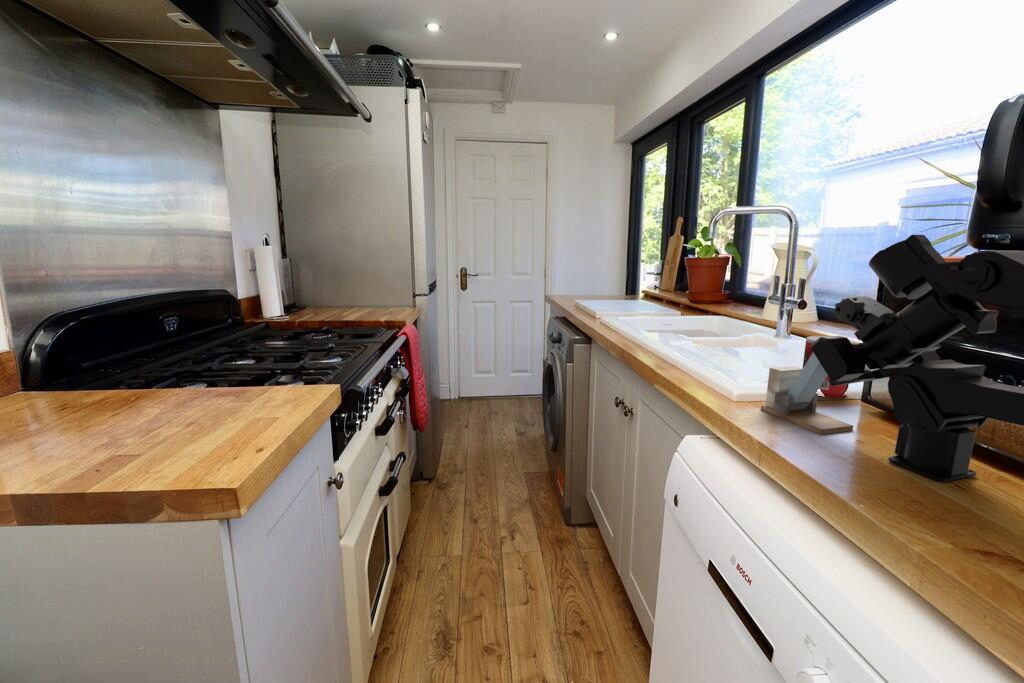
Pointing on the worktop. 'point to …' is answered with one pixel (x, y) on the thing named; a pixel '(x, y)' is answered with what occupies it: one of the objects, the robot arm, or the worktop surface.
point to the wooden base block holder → (781, 402)
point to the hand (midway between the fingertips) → (831, 383)
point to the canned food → (826, 386)
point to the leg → (807, 384)
